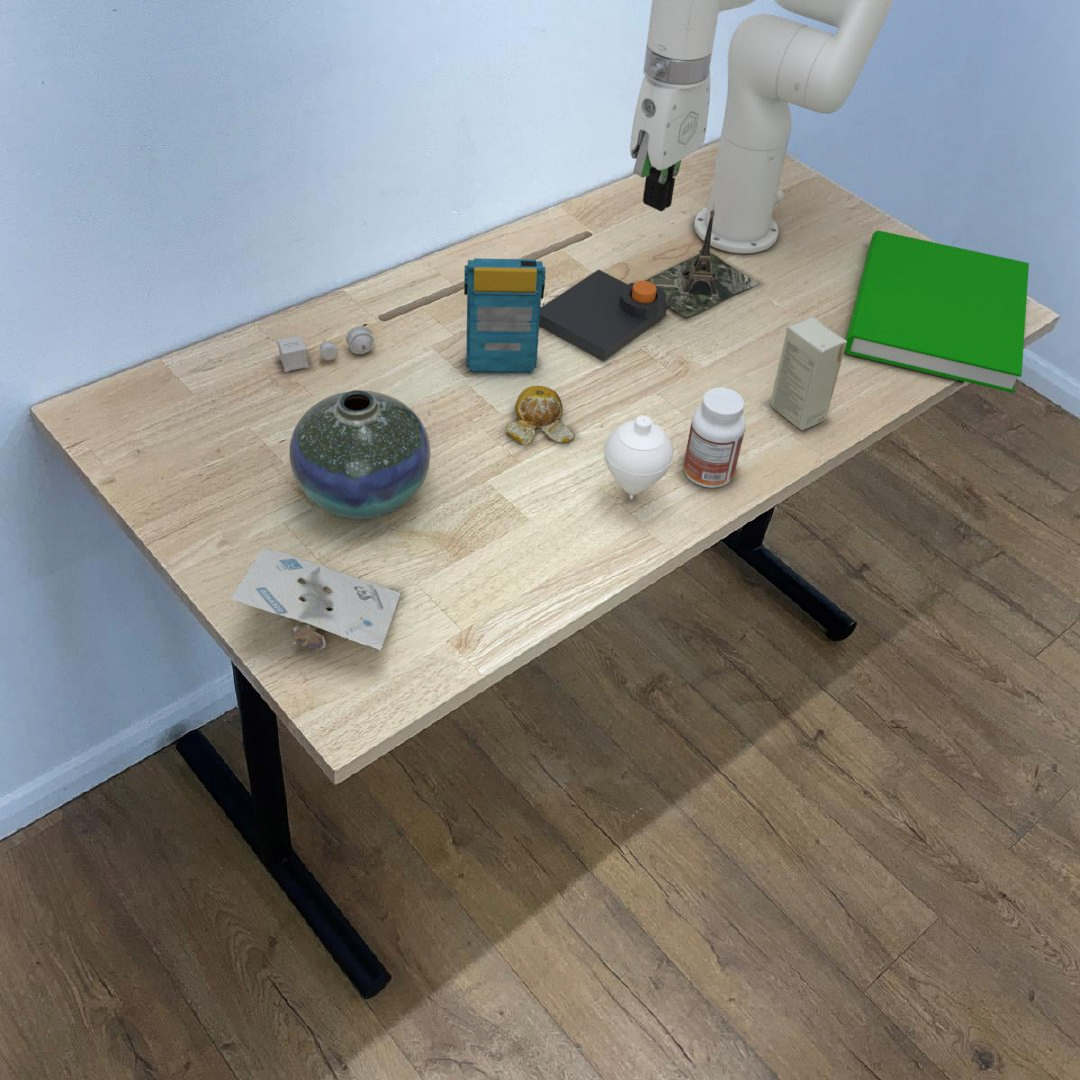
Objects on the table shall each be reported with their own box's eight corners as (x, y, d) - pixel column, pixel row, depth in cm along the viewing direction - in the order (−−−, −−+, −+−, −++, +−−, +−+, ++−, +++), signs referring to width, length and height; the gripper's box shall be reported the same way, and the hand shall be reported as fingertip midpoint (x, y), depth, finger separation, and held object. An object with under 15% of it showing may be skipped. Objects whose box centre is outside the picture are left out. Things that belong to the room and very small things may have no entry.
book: (1021, 280, 171) (1028, 262, 169) (1013, 393, 152) (1021, 374, 150) (868, 247, 175) (874, 229, 173) (842, 352, 156) (848, 334, 154)
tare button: (640, 287, 159) (642, 277, 158) (659, 297, 158) (661, 287, 157) (626, 297, 157) (628, 287, 156) (645, 306, 156) (647, 297, 155)
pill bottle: (708, 447, 142) (723, 375, 134) (744, 475, 139) (762, 404, 131) (671, 467, 139) (685, 395, 131) (707, 497, 136) (724, 425, 128)
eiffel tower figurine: (706, 252, 172) (721, 169, 162) (758, 284, 167) (777, 200, 157) (634, 288, 165) (646, 203, 155) (687, 322, 160) (702, 237, 150)
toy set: (282, 354, 145) (275, 336, 147) (285, 375, 147) (279, 358, 149) (376, 335, 148) (368, 318, 150) (377, 356, 151) (369, 339, 153)
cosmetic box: (826, 421, 147) (850, 342, 138) (801, 432, 145) (823, 353, 136) (791, 392, 150) (813, 314, 142) (766, 403, 149) (786, 324, 140)
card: (367, 687, 115) (381, 647, 113) (219, 638, 114) (231, 596, 112) (388, 629, 126) (401, 591, 123) (252, 583, 124) (263, 544, 122)
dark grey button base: (599, 279, 166) (602, 257, 163) (671, 316, 160) (675, 294, 158) (533, 323, 158) (534, 301, 155) (607, 363, 152) (609, 341, 150)
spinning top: (587, 506, 134) (596, 427, 125) (615, 467, 139) (626, 388, 130) (647, 531, 132) (662, 452, 123) (674, 490, 137) (689, 412, 128)
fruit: (507, 444, 140) (508, 421, 138) (503, 400, 146) (504, 377, 143) (575, 444, 141) (578, 421, 139) (568, 399, 147) (571, 376, 144)
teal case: (538, 356, 153) (545, 257, 142) (539, 376, 150) (547, 277, 139) (463, 355, 152) (464, 256, 141) (463, 375, 149) (464, 276, 138)
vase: (356, 562, 126) (348, 472, 116) (266, 489, 133) (252, 399, 123) (459, 493, 134) (459, 403, 124) (369, 428, 141) (364, 338, 131)
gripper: (665, 94, 129) (645, 239, 142) (740, 53, 137) (714, 194, 150) (611, 71, 132) (596, 216, 145) (687, 32, 140) (667, 172, 153)
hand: (656, 204), depth 148 cm, fingers closed
